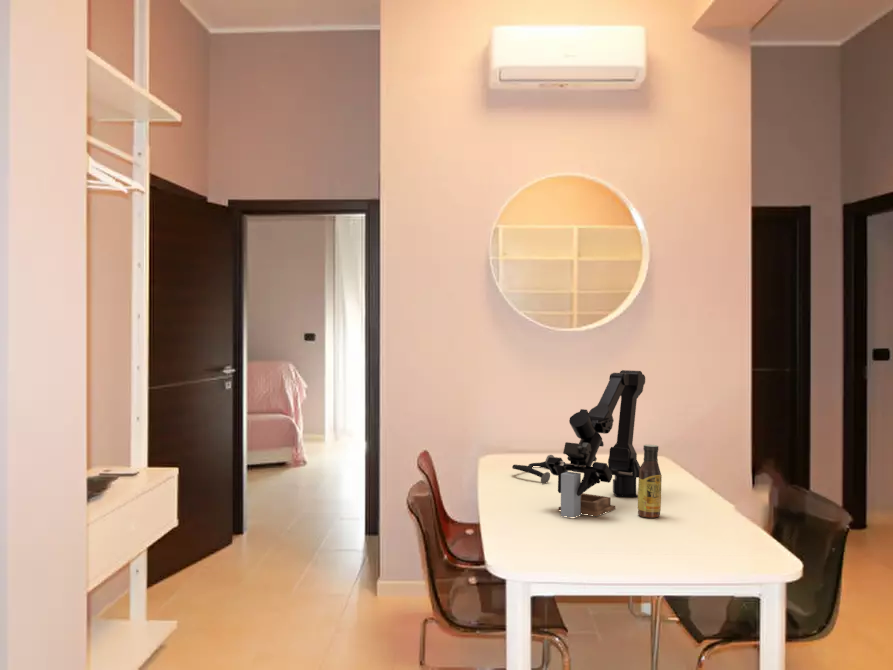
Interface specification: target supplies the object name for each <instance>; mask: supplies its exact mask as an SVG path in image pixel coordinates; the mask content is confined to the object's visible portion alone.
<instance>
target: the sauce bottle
mask: <svg viewBox="0 0 893 670" xmlns="http://www.w3.org/2000/svg"><path fill="white" fill-rule="evenodd" d="M658 453H659V445H657V444H643V462H642V463H641V465H640V469H639V478H638V484H637V485H638V487H637V510H638V511H637V515H638V516H639V517H642V518H649V519H651V518H652V519H655V518H658V517H660V516H661V507H662V506H661V505H662V482H663V481H662V478H663V477H662V475H663V474H662V472H661V470H660V466H659V459H658V455H659V454H658Z"/></svg>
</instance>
